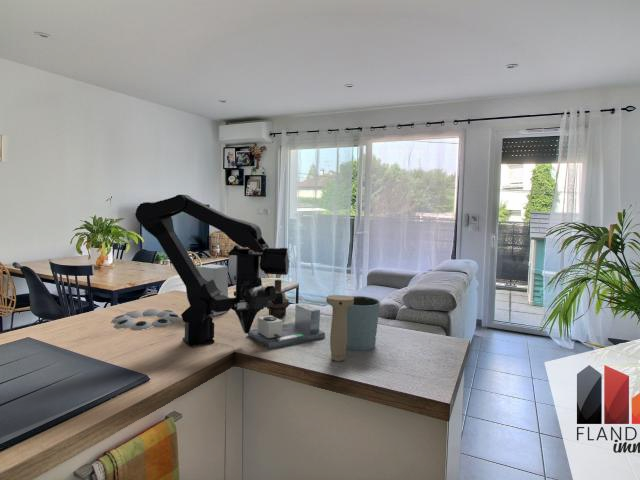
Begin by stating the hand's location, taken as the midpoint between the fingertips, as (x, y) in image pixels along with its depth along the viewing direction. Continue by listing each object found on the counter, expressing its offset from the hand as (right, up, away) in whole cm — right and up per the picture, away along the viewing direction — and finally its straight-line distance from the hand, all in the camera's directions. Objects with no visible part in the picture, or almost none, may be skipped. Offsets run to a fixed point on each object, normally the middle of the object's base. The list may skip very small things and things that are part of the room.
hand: (246, 332), depth 101 cm
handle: (+23, -5, -7) cm, 25 cm away
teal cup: (+29, -4, +3) cm, 30 cm away
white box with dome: (+7, -1, +4) cm, 8 cm away
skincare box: (-17, 0, +29) cm, 33 cm away
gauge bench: (+10, -3, +7) cm, 12 cm away
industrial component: (+4, -1, +27) cm, 27 cm away
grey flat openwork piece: (-34, -1, +18) cm, 38 cm away
